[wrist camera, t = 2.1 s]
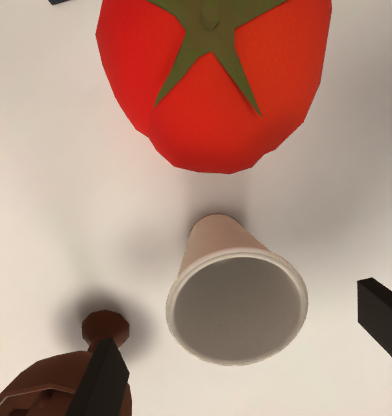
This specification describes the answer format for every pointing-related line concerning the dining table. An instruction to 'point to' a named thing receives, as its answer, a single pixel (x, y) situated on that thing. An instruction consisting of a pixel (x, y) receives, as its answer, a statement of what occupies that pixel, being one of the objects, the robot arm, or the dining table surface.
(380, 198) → the dining table surface
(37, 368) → the ice cream bowl
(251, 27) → the tomato
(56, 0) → the placemat
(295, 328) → the dixie cup
